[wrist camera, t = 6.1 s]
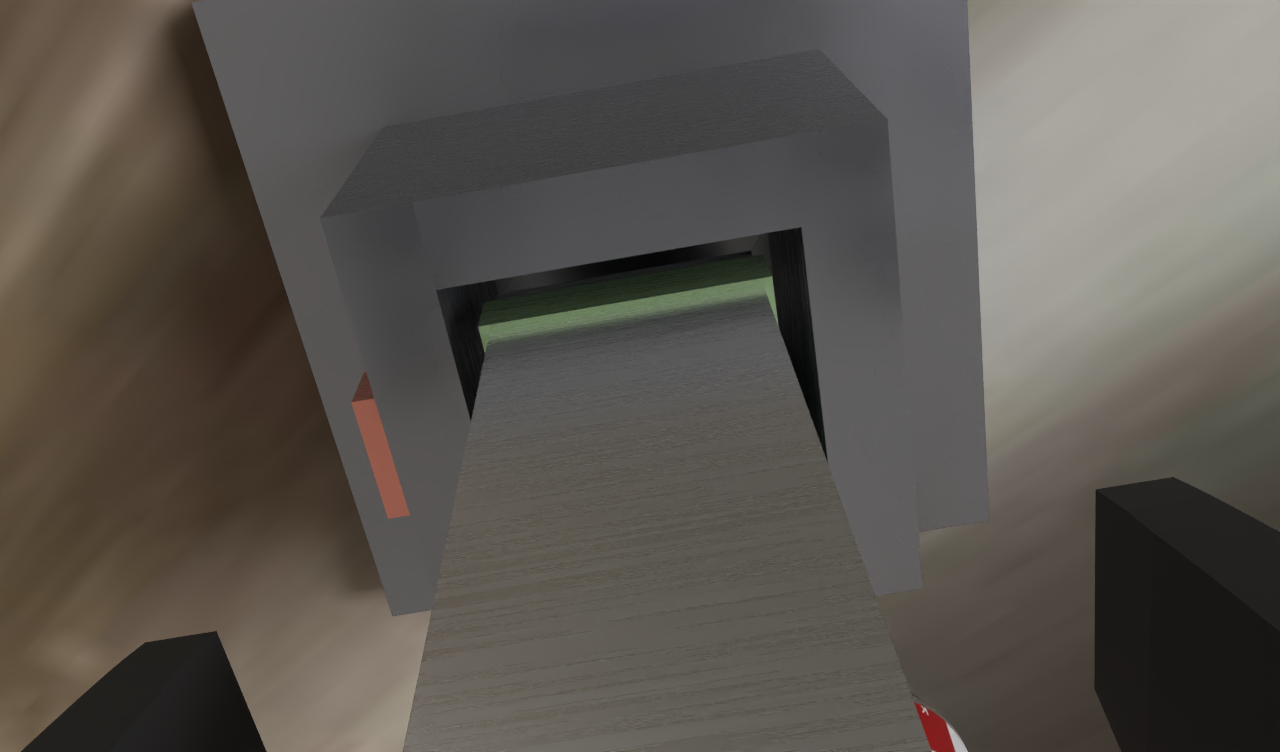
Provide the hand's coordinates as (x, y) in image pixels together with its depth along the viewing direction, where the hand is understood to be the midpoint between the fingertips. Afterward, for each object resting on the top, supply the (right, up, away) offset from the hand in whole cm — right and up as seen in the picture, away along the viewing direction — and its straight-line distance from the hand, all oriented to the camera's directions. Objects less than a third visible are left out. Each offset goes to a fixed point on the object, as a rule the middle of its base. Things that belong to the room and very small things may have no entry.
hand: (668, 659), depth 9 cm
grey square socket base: (0, +4, +8) cm, 9 cm away
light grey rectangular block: (0, +2, +5) cm, 5 cm away
